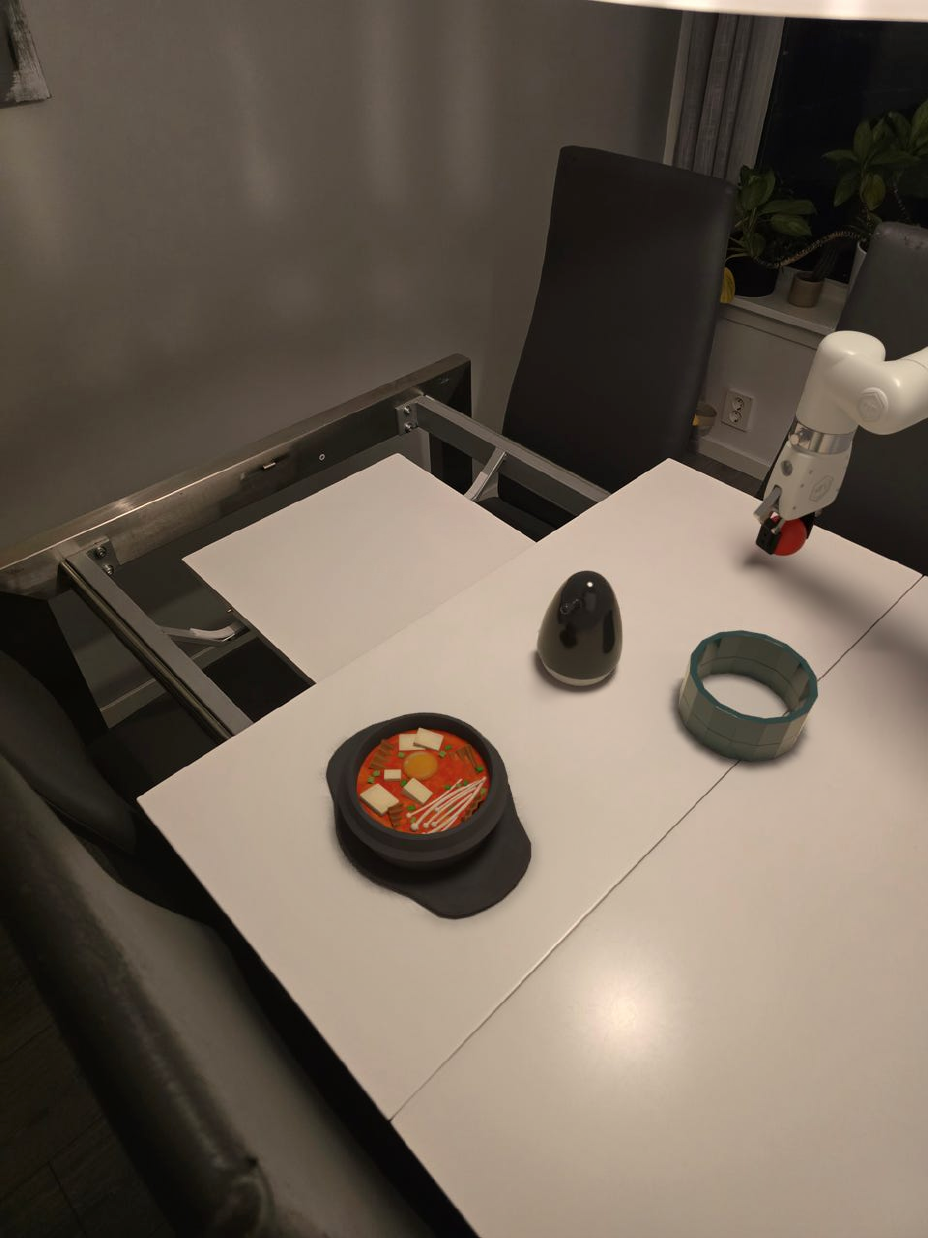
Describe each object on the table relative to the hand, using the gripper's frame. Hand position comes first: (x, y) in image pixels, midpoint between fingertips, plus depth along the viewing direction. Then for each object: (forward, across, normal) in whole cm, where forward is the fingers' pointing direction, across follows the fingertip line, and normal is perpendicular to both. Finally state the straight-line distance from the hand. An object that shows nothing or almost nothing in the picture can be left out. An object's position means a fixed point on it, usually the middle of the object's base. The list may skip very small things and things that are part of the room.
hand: (781, 540), depth 113 cm
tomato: (-1, 0, 0) cm, 1 cm away
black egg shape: (+2, -39, -4) cm, 39 cm away
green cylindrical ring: (+2, -28, -20) cm, 34 cm away
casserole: (+2, -65, -13) cm, 67 cm away
